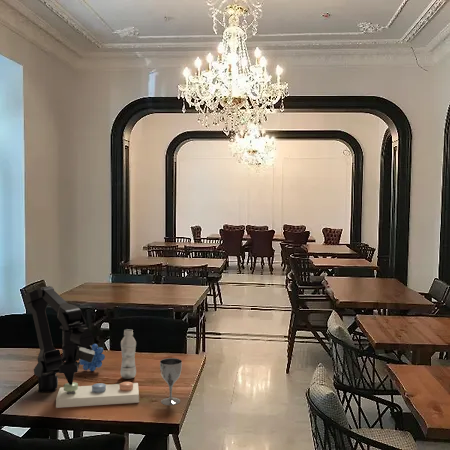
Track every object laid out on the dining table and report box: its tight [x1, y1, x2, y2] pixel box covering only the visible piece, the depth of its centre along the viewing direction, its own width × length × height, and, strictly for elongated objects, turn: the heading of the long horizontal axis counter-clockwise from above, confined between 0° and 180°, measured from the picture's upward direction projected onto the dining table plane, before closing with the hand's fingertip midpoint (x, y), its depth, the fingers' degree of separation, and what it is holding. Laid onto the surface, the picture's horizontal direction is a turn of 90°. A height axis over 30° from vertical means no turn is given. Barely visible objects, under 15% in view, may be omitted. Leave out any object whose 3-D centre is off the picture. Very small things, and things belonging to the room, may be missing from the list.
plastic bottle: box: [120, 328, 137, 380], centre depth 211 cm, size 6×7×20 cm
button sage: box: [63, 381, 79, 394], centre depth 187 cm, size 5×5×4 cm
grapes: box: [78, 343, 106, 372], centre depth 220 cm, size 12×7×12 cm, turn 81°
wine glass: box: [159, 357, 183, 406], centre depth 187 cm, size 8×8×15 cm
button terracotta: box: [119, 381, 134, 391], centre depth 191 cm, size 5×5×4 cm
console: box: [55, 382, 140, 409], centre depth 189 cm, size 29×12×3 cm, turn 101°
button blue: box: [91, 382, 107, 392], centre depth 189 cm, size 5×5×4 cm
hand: (70, 384), depth 187 cm, fingers closed
